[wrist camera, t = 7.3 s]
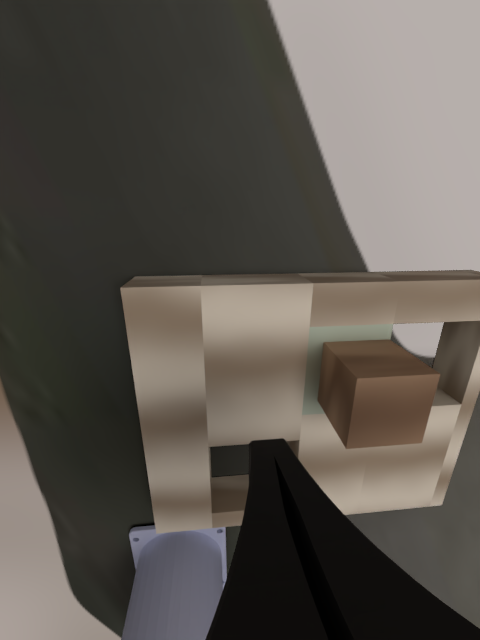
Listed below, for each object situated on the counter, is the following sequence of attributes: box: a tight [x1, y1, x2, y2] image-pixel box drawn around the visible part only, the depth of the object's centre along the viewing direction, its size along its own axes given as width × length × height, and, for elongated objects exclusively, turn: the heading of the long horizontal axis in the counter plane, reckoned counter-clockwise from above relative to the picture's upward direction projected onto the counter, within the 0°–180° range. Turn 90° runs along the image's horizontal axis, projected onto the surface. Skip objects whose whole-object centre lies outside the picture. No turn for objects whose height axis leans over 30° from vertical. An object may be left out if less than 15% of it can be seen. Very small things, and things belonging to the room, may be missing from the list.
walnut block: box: [317, 339, 440, 449], centre depth 15 cm, size 4×4×4 cm
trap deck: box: [120, 270, 480, 534], centre depth 20 cm, size 18×22×3 cm
